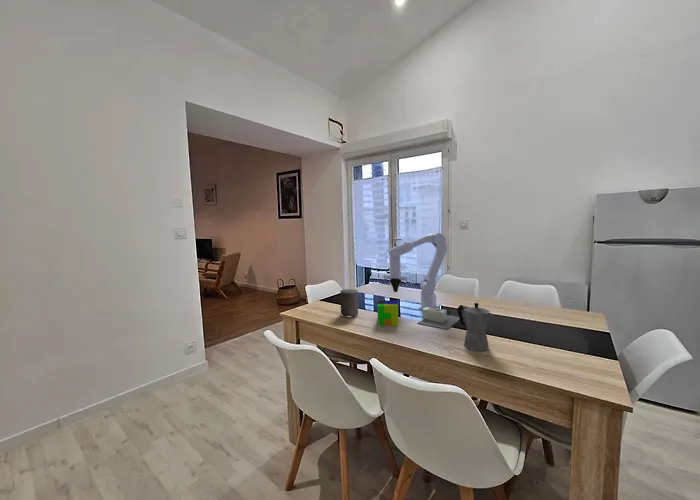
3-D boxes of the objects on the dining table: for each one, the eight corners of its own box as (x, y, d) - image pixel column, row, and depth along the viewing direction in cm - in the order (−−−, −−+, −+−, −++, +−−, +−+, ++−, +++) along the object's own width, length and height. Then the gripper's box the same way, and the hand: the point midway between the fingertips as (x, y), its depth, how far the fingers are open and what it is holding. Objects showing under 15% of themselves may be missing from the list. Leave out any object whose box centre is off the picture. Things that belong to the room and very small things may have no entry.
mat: (434, 313, 166) (434, 312, 166) (461, 318, 157) (461, 317, 157) (417, 323, 151) (417, 323, 151) (447, 329, 141) (447, 328, 141)
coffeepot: (498, 349, 118) (499, 304, 117) (484, 356, 113) (484, 308, 112) (464, 337, 131) (464, 296, 130) (450, 343, 126) (450, 300, 124)
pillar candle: (338, 317, 165) (337, 290, 164) (344, 311, 175) (343, 286, 173) (355, 318, 163) (355, 290, 161) (360, 312, 172) (359, 286, 170)
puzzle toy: (397, 319, 159) (396, 300, 158) (398, 325, 149) (398, 305, 148) (378, 319, 160) (377, 300, 159) (377, 325, 150) (377, 305, 149)
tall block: (426, 306, 160) (446, 309, 154) (426, 316, 161) (446, 319, 154) (422, 308, 157) (442, 312, 150) (422, 318, 157) (442, 322, 150)
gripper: (380, 268, 176) (381, 291, 177) (403, 270, 167) (403, 294, 168) (387, 266, 181) (387, 289, 182) (409, 268, 172) (409, 292, 173)
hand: (395, 291), depth 175 cm, fingers closed
